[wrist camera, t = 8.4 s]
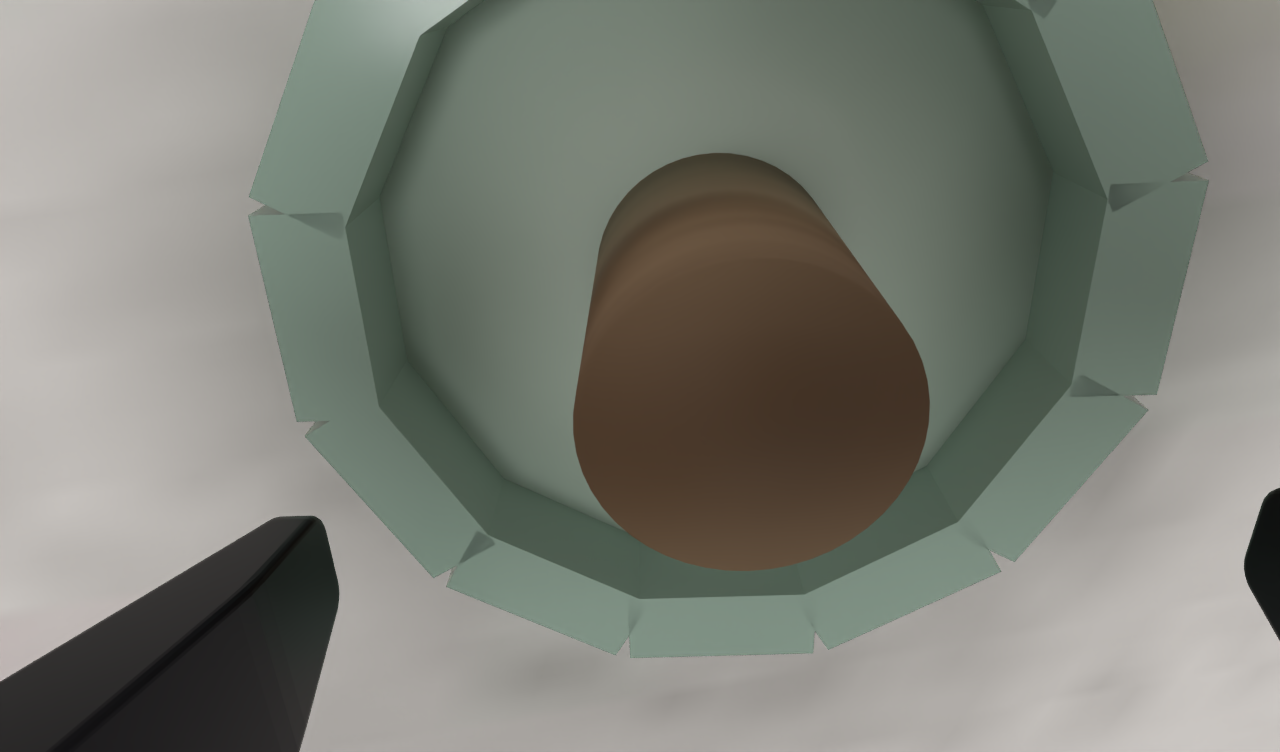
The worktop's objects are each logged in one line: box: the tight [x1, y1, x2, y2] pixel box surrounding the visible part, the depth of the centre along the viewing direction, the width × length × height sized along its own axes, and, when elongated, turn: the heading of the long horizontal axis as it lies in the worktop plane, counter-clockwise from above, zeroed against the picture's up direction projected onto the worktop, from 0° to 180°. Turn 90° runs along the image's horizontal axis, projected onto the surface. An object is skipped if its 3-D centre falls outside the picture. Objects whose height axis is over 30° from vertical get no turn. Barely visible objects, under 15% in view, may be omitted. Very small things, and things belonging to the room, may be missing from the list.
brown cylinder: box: [573, 153, 930, 571], centre depth 13 cm, size 4×4×6 cm
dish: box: [248, 0, 1209, 658], centre depth 16 cm, size 15×15×3 cm
